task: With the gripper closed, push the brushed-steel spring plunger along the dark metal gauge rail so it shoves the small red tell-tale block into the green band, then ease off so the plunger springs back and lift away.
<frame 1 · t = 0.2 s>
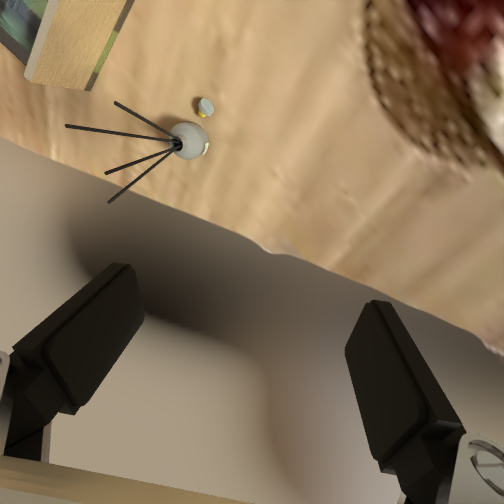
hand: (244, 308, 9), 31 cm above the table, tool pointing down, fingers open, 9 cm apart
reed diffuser: (191, 132, 35), on the table
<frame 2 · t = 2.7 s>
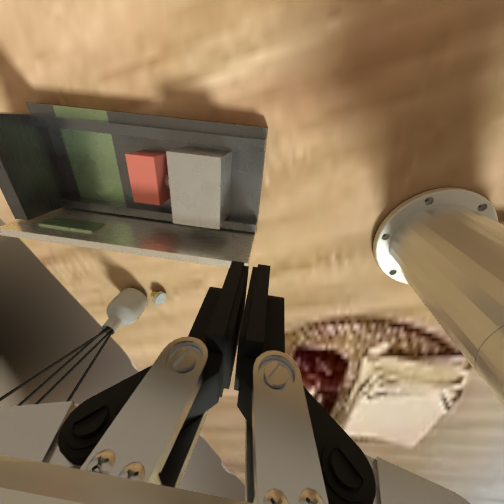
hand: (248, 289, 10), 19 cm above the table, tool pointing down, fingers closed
plunger: (195, 186, 24), point 4 cm above the table, slide at 0.0 cm
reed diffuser: (137, 289, 38), on the table
gauge: (156, 172, 27), on the table
marker: (156, 175, 26), point 1 cm above the table, touching gauge
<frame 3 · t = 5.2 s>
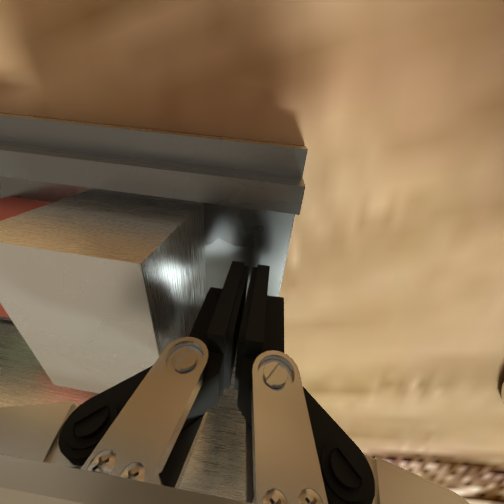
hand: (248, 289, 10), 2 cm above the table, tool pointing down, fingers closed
plunger: (113, 288, 10), point 4 cm above the table, slide at 0.5 cm, touching gripper
gauge: (62, 233, 13), on the table
marker: (55, 245, 12), point 1 cm above the table, touching gauge
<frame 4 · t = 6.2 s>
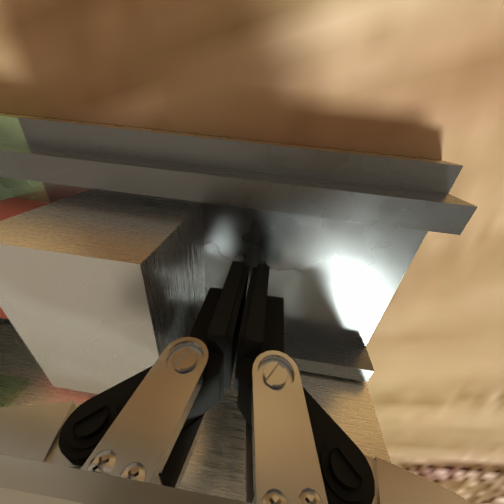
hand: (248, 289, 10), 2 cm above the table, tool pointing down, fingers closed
plunger: (113, 289, 10), point 4 cm above the table, slide at 6.0 cm, touching gripper, marker
gauge: (150, 246, 13), on the table
marker: (59, 246, 12), point 1 cm above the table, touching gauge, plunger
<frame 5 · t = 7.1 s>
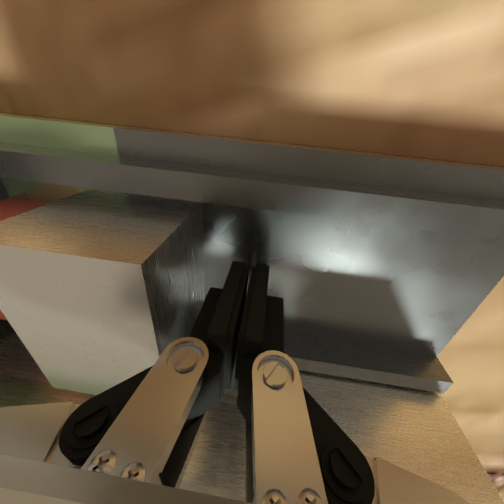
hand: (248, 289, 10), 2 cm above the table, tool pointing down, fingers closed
plunger: (112, 289, 10), point 4 cm above the table, slide at 10.0 cm, touching gripper, marker
gauge: (219, 256, 13), on the table
marker: (58, 246, 12), point 1 cm above the table, touching gauge, plunger
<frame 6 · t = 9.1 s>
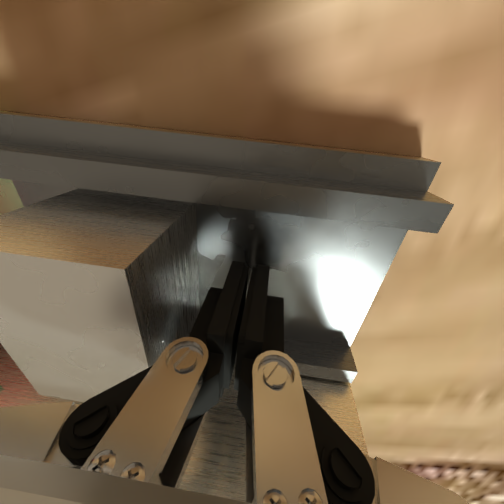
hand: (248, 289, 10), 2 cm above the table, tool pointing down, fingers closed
plunger: (101, 293, 9), point 4 cm above the table, slide at 5.2 cm, touching gripper
gauge: (130, 246, 12), on the table
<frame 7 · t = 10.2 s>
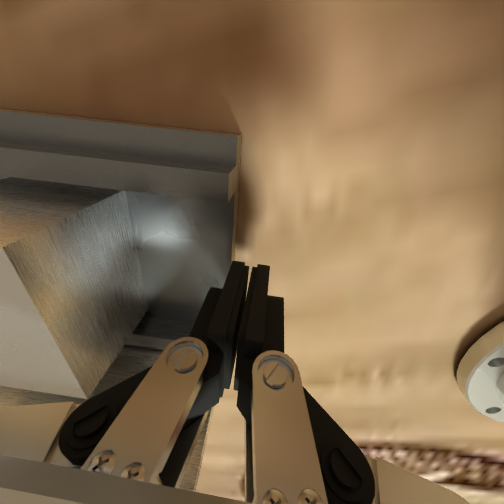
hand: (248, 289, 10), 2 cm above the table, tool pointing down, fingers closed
plunger: (31, 280, 9), point 4 cm above the table, slide at 1.2 cm
gauge: (7, 228, 13), on the table
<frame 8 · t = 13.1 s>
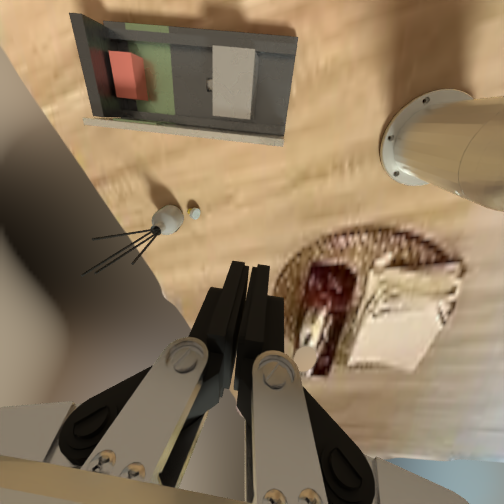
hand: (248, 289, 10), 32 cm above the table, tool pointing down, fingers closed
plunger: (230, 86, 30), point 4 cm above the table, slide at 1.2 cm
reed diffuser: (175, 209, 44), on the table
gauge: (202, 86, 33), on the table
marker: (135, 79, 33), point 1 cm above the table, touching gauge
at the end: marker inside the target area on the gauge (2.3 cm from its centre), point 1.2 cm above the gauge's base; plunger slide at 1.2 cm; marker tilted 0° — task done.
